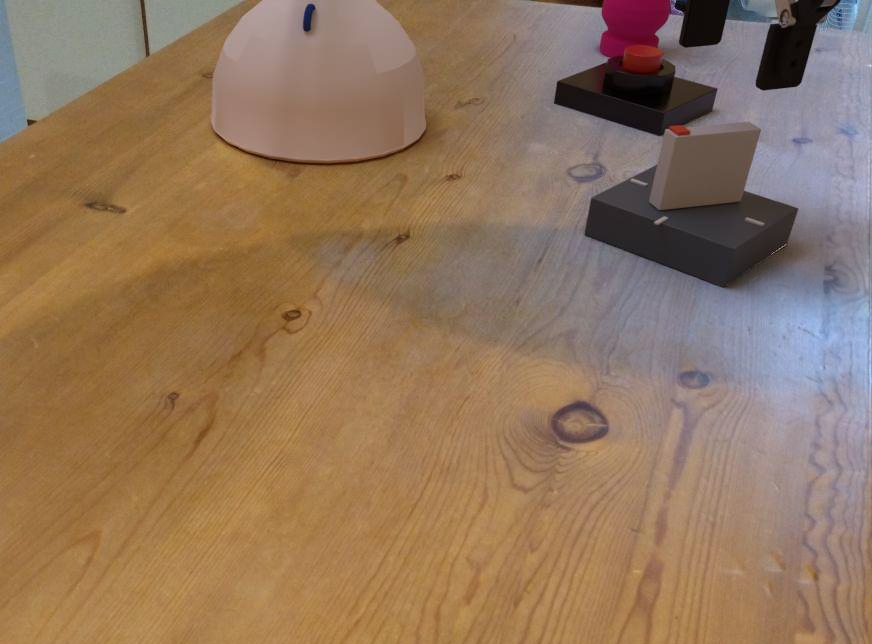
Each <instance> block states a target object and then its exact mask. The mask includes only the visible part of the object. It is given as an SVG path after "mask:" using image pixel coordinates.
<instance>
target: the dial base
mask: <svg viewBox="0 0 872 644" xmlns="http://www.w3.org/2000/svg"><path fill="white" fill-rule="evenodd" d="M656 168H657V164H656V165H654V166H652V167H650V168H647V169H645V170H643V171H641V172H640V173H638V174H635V175H633V176H632V177H630V178H627V179H626V180H624V181H622V182H620V183H618V184H616V185H613V186H612V187H610V188H608V189H606V190H604V191H602V192H599V193H597V194H596V195H594V196H592V197H590V203H589V208H588V213H587V218H586V224H585V228H584V236H587V237H590V238H593V239H595V240H598V241H600V242H603V243H606V244H607V245H608V244H609V245H612V246H614V247H616V248H619V249H621V250H624V251H627V252H629V253H632V254H635V255H638V256H640V257H643V258H645V259H648V260H650V261H654V262H656V263H658V264H661V265H664V266H666V267H669V268H673V269H674V270H677V271H680V272H682V273H685V274H688V275H690V276H693V277H696V278H698V279H701V280H703V281H706V282H709V283H711V284H714V283H715V284H714V285H716V286H719V285H720V286H719V287H722V286H723V287H722V288H725V287H727V286H728V285H730V284H731V283H732V282H734V281H735V280H737V279H738V278H740V277H741V276H743V275H744V274H746V273H747V272H749V271H750V270H752V269H753V268H755V267H756V266H758V265H759V264H761V263H762V262H764V261H765V260H767V259H768V258H769V257H768V256H770V255H771V254H772V253H773V252H775V251H776V250H778V249H779V248H781V247H782V246H784V245H785V244H787V245H788V243H789V240H790V236H791V233H792V230H793V228H794V224H795V221H796V218H797V215H798V212H799V208H798V207H796V206H793V205H790V204H787V203H784V202H780V201H778V200H775V199H771V198H768V197H765V196H762V195H759V194H756V193H753V192H750V191H746V190H744V192H743V195H742V199H741V201H740V202H732V203H723V204H714V205H705V206H695V207H686V208H677V209H667V210H658V209H657V208H656V207H654V206H653V205H652V204H651V203H649V199H650V195H651V190H652V186H653V181H654V177H655V173H656ZM771 256H772V255H771ZM771 256H770V257H771ZM767 257H768V258H767ZM766 258H767V259H766ZM764 259H765V260H764ZM763 260H764V261H763ZM761 261H762V262H761ZM760 262H761V263H760ZM758 263H759V264H758ZM757 264H758V265H757ZM755 265H756V266H755ZM754 266H755V267H754ZM752 267H753V268H752ZM751 268H752V269H751ZM749 269H750V270H749ZM748 270H749V271H748ZM746 271H747V272H746ZM745 272H746V273H745ZM743 273H744V274H743ZM742 274H743V275H742ZM739 276H740V277H739ZM737 277H738V278H737ZM736 278H737V279H736ZM733 280H734V281H733ZM730 282H731V283H730ZM727 284H728V285H727ZM724 286H725V287H724Z"/></svg>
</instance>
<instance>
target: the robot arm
mask: <svg viewBox="0 0 872 644" xmlns="http://www.w3.org/2000/svg"><path fill="white" fill-rule="evenodd" d="M841 1H842V0H774V3H775V9H776V16H777V21H778V23H770V24H769V28H768V30H767V35H766V38H765V42H764V46H763V49H762V53H761V58H760V62H759V66H758V70H757V75H756V79H755V87H756V88H757V89H759V90H760V91H772V90H773V91H774V90H781V89H782V90H783V89H791V88H797V87H798V86H800V85H801V83H802V82H803V78H804V75H805V71H806V68H807V64H808V60H809V57H810V53H811V49H812V47H813V43H814V38H815V35H816V31H817V28H818V26H819V25H824V23H825V22H826V21H827V18H828V14H829V13H830V12H831V11H833V10H834V9H835V8H836V7H837V6H838V5H839V4H840V3H841ZM730 3H731V0H686V3H685V7H684V8H685V9H684V13H683V17H682V24H681V29H680V32H679V33H680V34H679V40H678V44H679V46H681V47H682V48H685V49H687V48H696V47H697V48H698V47H706V46H716V45H718V44H719V43H721V41H722V39H723V35H724V30H725V25H726V21H727V16H728V11H729V7H730Z"/></svg>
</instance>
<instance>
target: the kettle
mask: <svg viewBox="0 0 872 644" xmlns="http://www.w3.org/2000/svg"><path fill="white" fill-rule="evenodd" d="M211 87H212V88H211V89H212V90H211V91H212V92H211V96H212V97H211V116H210V118H209V121H210V123H211V126H212V129H213V131H214V132H215V133H216V134H217V135H218V136H220V137H221V138H222V139H223V140H224V141H225V142H227V143H228V144H229V145H231V146H233V147H235V146H236V147H235V148H237V147H238V148H237V149H239V150H241V151H244V152H246V153H248V154H249V153H250V154H254V155H257V156H261V157H264V158H267V159H273V160H279V161H286V162H292V163H305V164H306V163H308V164H342V163H354V162H355V163H357V162H361V161H367V160H372V159H379V158H383V157H386V156H389V155H391V154H394V153H397V152H400V151H403V150H404V149H406V148H408V147H409V146H411V145H412V144H414V143H415V142H417V141H418V140H419V139H420V138H421V136H422V135H423V134H424V132H425V130H426V129H427V120H426V113H425V112H426V101H425V100H426V99H425V98H426V97H425V96H426V93H425V74H424V71H423V67H422V63H421V60H420V58H419V54H418V51H417V47H416V45H415V44H414V43H413V41H412V40H411V38H410V37H409V35H408V34H407V32H406V31H405V29H404V28H403V26H402V24H401V23H400V22H399V21H398V19H396V18H395V16H394V15H392V14H391V13H390V12H389V11H388V10H387V9H386V8H384V7H383V6H382V5H381V4H380V3H379V2H378V1H377V0H261V1H260V2H258V3H257V4H256V5H254V7H252V8H251V9H250V10H249V11H247V12H246V13H245V14H243V16H242V17H241V18H240V19H239V21H238V22H237V24H236V25H235V26H234V27H233V29H232V30H231V32H230V33H229V34H228V35H227V37H226V38H225V40H224V43H223V45H222V49H221V51H220V54H219V57H218V60H217V63H216V65H215V68H214V72H213V74H212V86H211Z"/></svg>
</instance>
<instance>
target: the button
mask: <svg viewBox="0 0 872 644" xmlns="http://www.w3.org/2000/svg"><path fill="white" fill-rule="evenodd" d="M663 57H664V51H663V50H662V49H660V48H656V47H652V46H645V45H633V46H629V47H627V48H626V49H625V52H624V57H623V62H622V67H623V68H624V69H628V70H631V71H636V72H647V73H648V72H658V71H660V66H661V62H662V59H663Z"/></svg>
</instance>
